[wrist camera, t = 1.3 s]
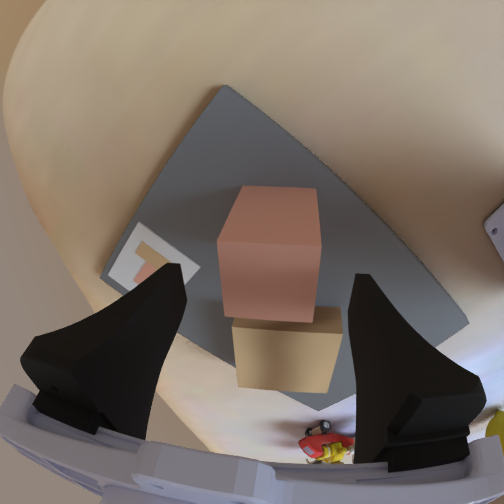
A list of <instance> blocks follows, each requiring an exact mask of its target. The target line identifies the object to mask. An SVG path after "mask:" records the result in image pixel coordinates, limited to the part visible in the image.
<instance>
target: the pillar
mask: <svg viewBox="0 0 504 504" xmlns="http://www.w3.org/2000/svg"><path fill="white" fill-rule="evenodd" d="M321 248H322V245H321V233H320V222H319V211H318V201H317V192H316V188H298V187H274V186H242V188H241V190H240V192H239V194H238V196H237V199H236V201H235V203H234V205H233V207H232V209H231V211H230V213H229V216H228V218H227V220H226V222H225V224H224V226H223V229H222V231H221V233H220V235H219V237H218V239H217V249H218V260H219V269H220V279H221V288H222V297H223V306H224V315H225V317H236V318H248V319H261V320H274V321H290V322H307V323H312V322H313V315H314V308H315V300H316V292H317V284H318V276H319V267H320V258H321Z"/></svg>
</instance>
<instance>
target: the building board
mask: <svg viewBox="0 0 504 504" xmlns="http://www.w3.org/2000/svg"><path fill="white" fill-rule="evenodd" d="M242 186H274V187H298V188H316V192H317V201H318V211H319V222H320V233H321V245H322V248H321V258H320V267H319V276H318V284H317V292H316V300H315V306H323V307H340V308H341V318H342V329H343V336H342V340H341V344H340V348H339V352H338V355H337V359H336V363H335V367H334V370H333V374H332V378H331V381H330V385H329V388H328V391H327V393H308V392H290V391H279V392H281V393H283V394H285V395H287V396H289V397H291V398H293V399H295V400H297V401H299V402H301V403H303V404H305V405H307V406H309V407H311V408H313V409H315V410H317V411H320V410H322V409H324V408H327V407H329V406H331V405H333V404H335V403H337V402H339V401H341V400H343V399H345V398H348V397H350V396H352V395H354V394H355V393H356V379H355V371H354V365H353V358H352V352H351V345H350V339H349V333H348V307H349V302H350V298H351V293H352V288H353V283H354V278H355V273H358V274H370V275H371V276H372V277H373V279H374V280H375V281H376V283H377V284H378V286H379V287H380V288H381V290H382V291H383V292H384V294H385V295H386V296H387V298H388V299H389V300H390V302H391V303H392V304H393V306H394V307H395V308H396V309H397V311H398V312H399V313H400V314H401V315H402V316H403V318H404V319H405V320H406V321H407V322H408V323H409V324H410V325H411V326H412V327H413V328H414V329H415V330H416V331H417V332H418V333H419V334H420V335H421V336H422V337H423V338H424V339H425V340H426V341H427V342H429V343H430V344H431V345H432V346H433V347H436V346H438V345H439V344H441V343H442V342H444V341H445V340H447V339H448V338H450V337H451V336H453V335H454V334H455V333H457V332H458V331H460V330H461V329H462V328H464V327H465V326H466V325H468V324H469V321H468V319H467V317H466V315H465V314H464V313H463V312H462V310H461V309H460V308H459V306H458V305H457V304H456V303H455V301H454V300H453V299H452V298H451V296H450V295H449V294H448V293H447V292H446V290H445V289H444V288H443V287H442V285H441V284H440V283H439V282H438V281H437V280H436V278H435V277H434V276H433V275H432V274H431V272H430V271H429V270H428V269H427V268H426V267H425V266H424V264H423V263H422V262H421V261H420V260H419V259H418V258H417V256H416V255H415V254H414V253H413V252H412V251H411V250H410V249H409V248H408V246H407V245H406V244H405V243H404V242H403V241H402V240H401V239H400V238H399V237H398V236H397V235H396V234H395V232H394V231H393V230H392V229H391V228H390V227H389V226H388V225H387V224H386V223H385V222H384V221H383V220H382V219H381V218H380V217H379V216H378V215H377V214H376V213H375V212H374V211H373V210H372V209H371V208H370V207H369V206H368V205H367V204H366V203H365V202H364V201H363V200H362V199H361V198H360V197H359V196H358V195H357V194H356V193H355V192H354V191H353V190H352V189H351V188H350V187H349V186H348V185H347V184H346V183H344V182H343V181H342V180H341V179H340V178H339V177H338V176H337V175H336V174H335V173H334V172H333V171H332V170H330V169H329V168H328V167H327V166H326V165H325V164H324V163H323V162H322V161H321V160H319V159H318V158H317V157H316V156H315V155H314V154H313V153H311V152H310V151H309V150H308V149H307V148H306V147H305V146H303V145H302V144H301V143H300V142H299V141H298V140H296V139H295V138H294V137H293V136H292V135H290V134H289V133H288V132H287V131H286V130H284V129H283V128H282V127H281V126H280V125H278V124H277V123H276V122H275V121H273V120H272V119H271V118H270V117H268V116H267V115H266V114H265V113H263V112H262V111H261V110H260V109H258V108H257V107H256V106H254V105H253V104H252V103H251V102H249V101H248V100H247V99H245V98H244V97H243V96H241V95H240V94H239V93H237V92H236V91H235V90H233V89H232V88H231V87H229V86H228V85H223V86H222V88H221V89H220V90H219V92H218V93H217V94H216V95H215V97H214V98H213V99H212V101H211V102H210V103H209V104H208V106H207V107H206V108H205V110H204V111H203V112H202V114H201V115H200V116H199V118H198V119H197V121H196V122H195V123H194V125H193V126H192V127H191V129H190V130H189V132H188V133H187V134H186V136H185V137H184V139H183V140H182V142H181V143H180V144H179V146H178V147H177V149H176V150H175V152H174V153H173V155H172V156H171V158H170V159H169V161H168V162H167V164H166V165H165V167H164V168H163V170H162V171H161V173H160V174H159V176H158V177H157V179H156V180H155V182H154V184H153V185H152V187H151V188H150V190H149V191H148V193H147V195H146V196H145V198H144V200H143V201H142V203H141V204H140V206H139V208H138V209H137V211H136V213H135V214H134V216H133V218H132V220H131V221H130V223H129V225H128V226H127V228H126V230H125V232H124V233H123V235H122V237H121V239H120V241H119V242H118V244H117V246H116V248H115V250H114V251H113V253H112V255H111V257H110V259H109V261H108V263H107V264H106V266H105V268H104V270H103V272H102V274H101V276H100V279H102V280H103V281H104V282H106V283H107V284H108V285H110V286H111V287H113V288H114V289H115V290H117V291H118V292H119V293H121V294H122V295H125V294H127V293H128V292H129V291H131V290H132V289H134V288H135V287H136V286H137V285H139V284H140V283H141V282H143V281H144V280H145V279H146V278H148V277H149V276H150V275H151V274H153V273H154V272H155V271H157V270H158V269H159V268H160V267H162V266H163V265H165V264H166V263H180V264H181V269H182V275H183V280H184V285H185V290H186V296H187V304H186V308H185V312H184V315H183V318H182V321H181V324H180V326H179V328H178V331H177V332H178V333H179V334H181V335H183V336H184V337H186V338H187V339H189V340H190V341H192V342H194V343H195V344H197V345H198V346H200V347H202V348H203V349H205V350H207V351H208V352H210V353H212V354H213V355H215V356H217V357H218V358H220V359H222V360H223V361H225V362H227V363H228V364H230V365H232V366H234V367H235V368H236V363H235V353H234V344H233V334H232V324H233V320H234V317H225V315H224V306H223V297H222V288H221V279H220V269H219V260H218V249H217V239H218V237H219V235H220V233H221V231H222V229H223V226H224V224H225V222H226V220H227V218H228V216H229V213H230V211H231V209H232V207H233V205H234V203H235V201H236V199H237V196H238V194H239V192H240V190H241V188H242Z"/></svg>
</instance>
